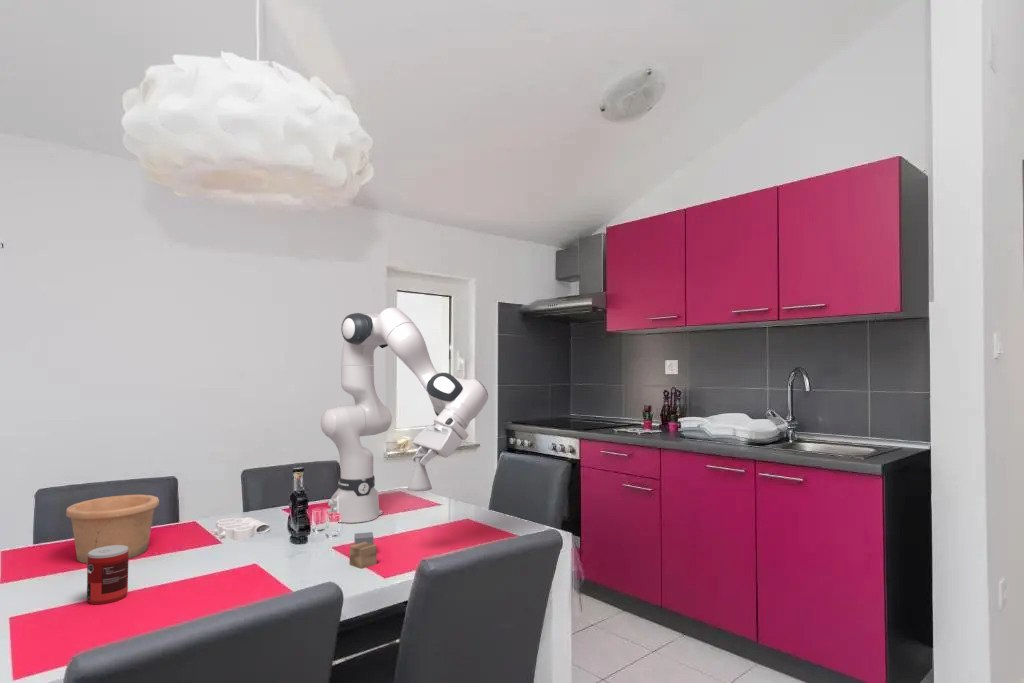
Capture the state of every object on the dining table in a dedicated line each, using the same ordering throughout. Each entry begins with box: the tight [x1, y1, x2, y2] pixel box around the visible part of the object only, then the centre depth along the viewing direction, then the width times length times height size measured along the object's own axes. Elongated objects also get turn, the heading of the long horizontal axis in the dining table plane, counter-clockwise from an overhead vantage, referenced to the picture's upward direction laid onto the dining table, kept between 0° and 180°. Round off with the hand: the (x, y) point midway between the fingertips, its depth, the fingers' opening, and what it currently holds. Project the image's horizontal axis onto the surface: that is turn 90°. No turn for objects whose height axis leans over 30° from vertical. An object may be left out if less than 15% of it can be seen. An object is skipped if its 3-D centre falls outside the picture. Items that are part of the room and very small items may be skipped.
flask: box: [407, 453, 433, 492], centre depth 170 cm, size 7×7×10 cm
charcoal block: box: [353, 531, 375, 545], centre depth 169 cm, size 5×5×5 cm
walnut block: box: [349, 542, 378, 570], centre depth 159 cm, size 5×5×5 cm
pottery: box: [65, 494, 160, 564], centre depth 168 cm, size 22×22×14 cm
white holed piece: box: [211, 516, 271, 541], centre depth 189 cm, size 3×18×15 cm
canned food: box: [86, 545, 129, 605], centre depth 137 cm, size 8×8×11 cm
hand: (417, 462), depth 170 cm, fingers closed on flask, 3 cm apart
